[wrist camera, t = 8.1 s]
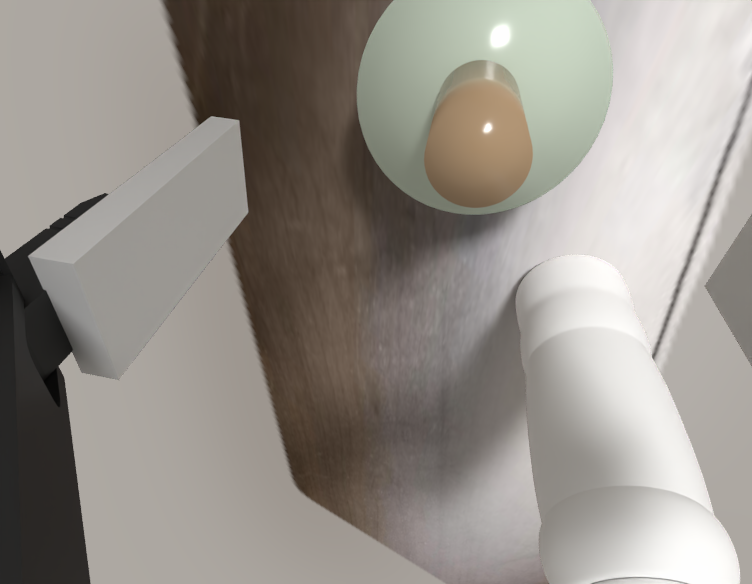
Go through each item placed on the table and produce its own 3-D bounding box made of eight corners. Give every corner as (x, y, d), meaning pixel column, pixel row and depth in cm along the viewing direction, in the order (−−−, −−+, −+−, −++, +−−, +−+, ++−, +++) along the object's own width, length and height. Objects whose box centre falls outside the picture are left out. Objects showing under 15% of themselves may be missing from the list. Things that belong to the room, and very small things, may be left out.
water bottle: (505, 262, 32) (544, 784, 13) (620, 238, 30) (890, 837, 10) (525, 338, 36) (579, 835, 16) (629, 323, 33) (840, 884, 14)
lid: (369, -63, 19) (320, -57, 13) (652, -33, 18) (734, -14, 12) (355, 189, 26) (318, 266, 20) (561, 220, 25) (586, 310, 19)
